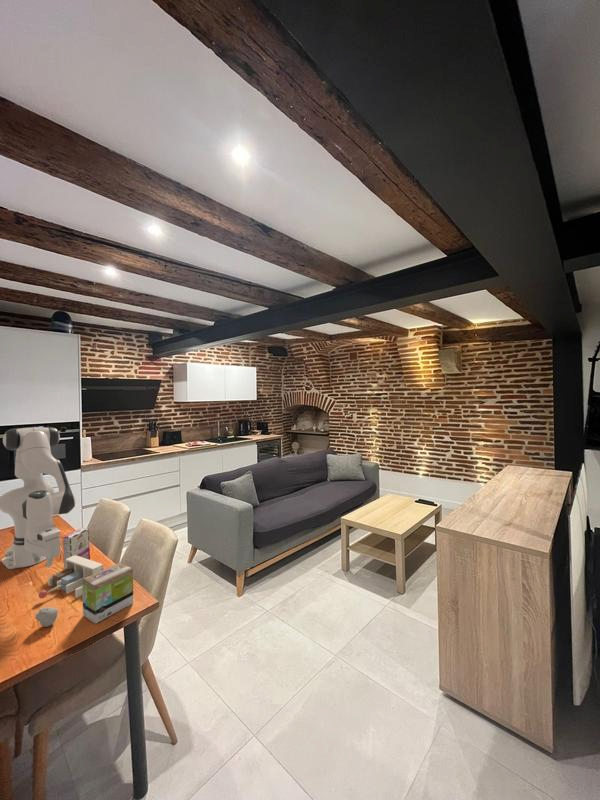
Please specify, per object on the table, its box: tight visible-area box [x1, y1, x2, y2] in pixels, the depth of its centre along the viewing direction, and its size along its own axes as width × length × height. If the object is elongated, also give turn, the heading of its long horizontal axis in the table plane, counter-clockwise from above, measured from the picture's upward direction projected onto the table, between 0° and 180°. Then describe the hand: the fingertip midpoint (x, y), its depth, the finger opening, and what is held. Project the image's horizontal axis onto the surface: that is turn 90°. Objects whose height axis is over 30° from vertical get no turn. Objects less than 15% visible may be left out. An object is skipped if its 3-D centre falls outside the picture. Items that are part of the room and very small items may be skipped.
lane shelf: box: [47, 555, 104, 599], centre depth 153 cm, size 21×12×9 cm, turn 63°
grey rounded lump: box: [34, 606, 59, 628], centre depth 126 cm, size 6×7×7 cm
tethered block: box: [38, 572, 81, 599], centre depth 147 cm, size 4×16×5 cm, turn 153°
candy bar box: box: [62, 527, 91, 570], centre depth 171 cm, size 11×5×16 cm, turn 168°
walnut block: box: [52, 569, 73, 588], centre depth 155 cm, size 4×6×5 cm
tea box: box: [82, 562, 134, 624], centre depth 135 cm, size 15×10×15 cm, turn 148°
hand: (42, 564), depth 141 cm, fingers open, 8 cm apart
